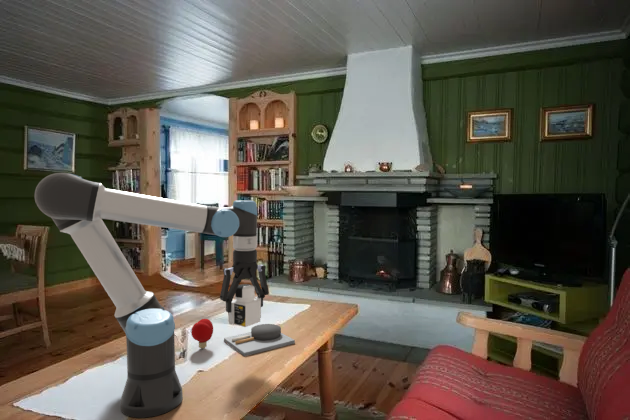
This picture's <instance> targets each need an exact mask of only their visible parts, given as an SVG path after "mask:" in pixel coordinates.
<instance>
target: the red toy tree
mask: <svg viewBox="0 0 630 420" xmlns="http://www.w3.org/2000/svg"><path fill="white" fill-rule="evenodd" d="M190 333H191V336H192V338H193V339H194V341H197V342H198V348H199V349H201V350H205V348H207V343H208V341H210V340H211V339H212V336H213V334H214V325H213V322H212V321H211V319H209V318H201V319H199V320H198V321H197V322H195V323H194V324H193V325H192V327H191V330H190Z"/></svg>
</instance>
